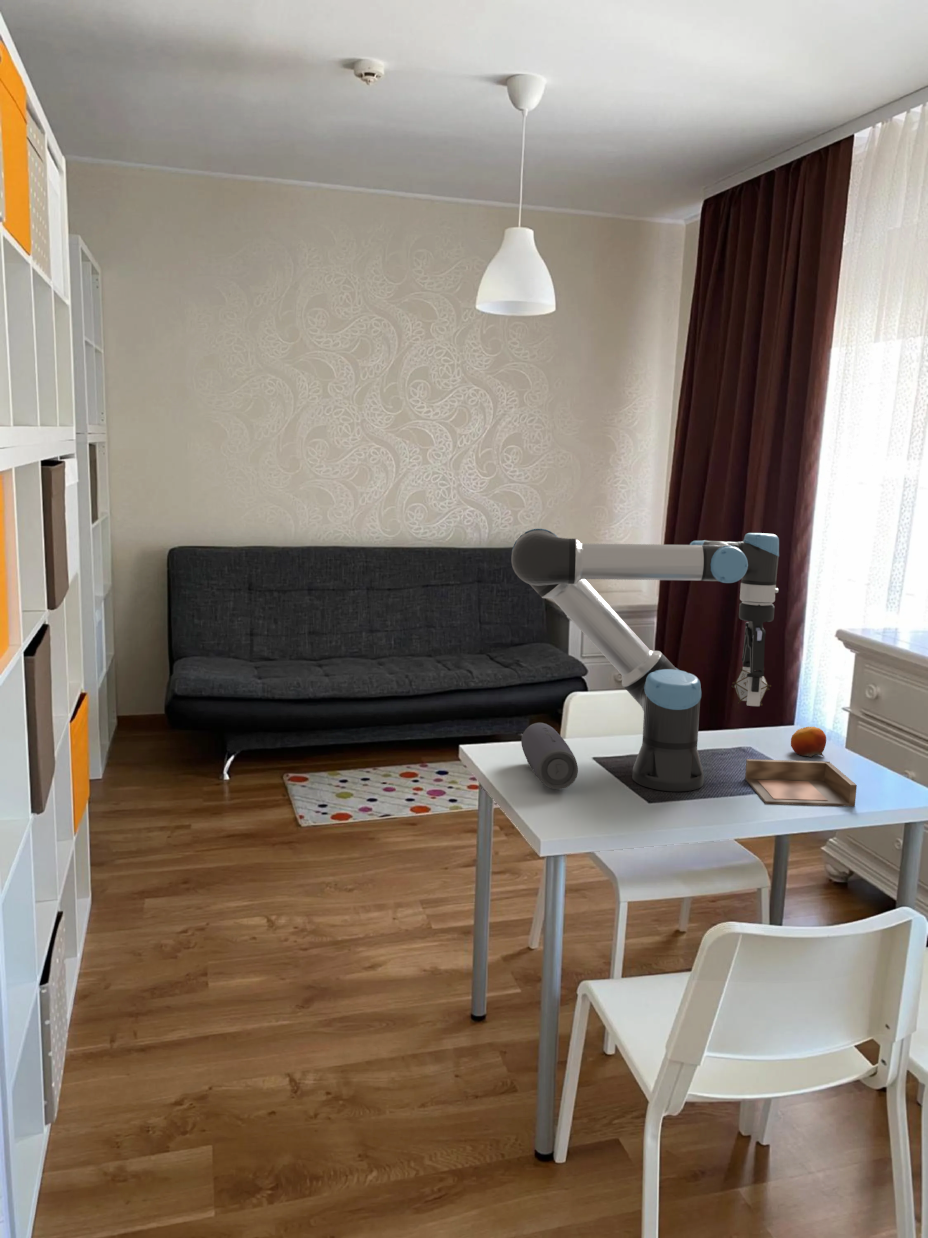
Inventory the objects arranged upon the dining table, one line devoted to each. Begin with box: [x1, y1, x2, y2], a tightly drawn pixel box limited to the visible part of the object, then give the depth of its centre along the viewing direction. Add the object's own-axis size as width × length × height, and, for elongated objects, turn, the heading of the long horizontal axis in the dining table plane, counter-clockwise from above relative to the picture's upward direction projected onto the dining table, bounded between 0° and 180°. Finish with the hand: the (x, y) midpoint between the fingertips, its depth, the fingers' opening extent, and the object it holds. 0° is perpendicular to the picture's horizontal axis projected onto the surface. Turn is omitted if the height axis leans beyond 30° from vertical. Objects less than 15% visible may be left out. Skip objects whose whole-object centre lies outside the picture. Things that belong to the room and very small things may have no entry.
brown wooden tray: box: [744, 758, 858, 807], centre depth 204 cm, size 18×16×4 cm
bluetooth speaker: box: [520, 722, 579, 790], centre depth 210 cm, size 23×9×10 cm, turn 6°
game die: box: [731, 666, 772, 706], centre depth 219 cm, size 9×8×10 cm
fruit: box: [790, 726, 827, 758], centre depth 232 cm, size 8×8×8 cm
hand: (749, 700), depth 220 cm, fingers closed on game die, 10 cm apart
